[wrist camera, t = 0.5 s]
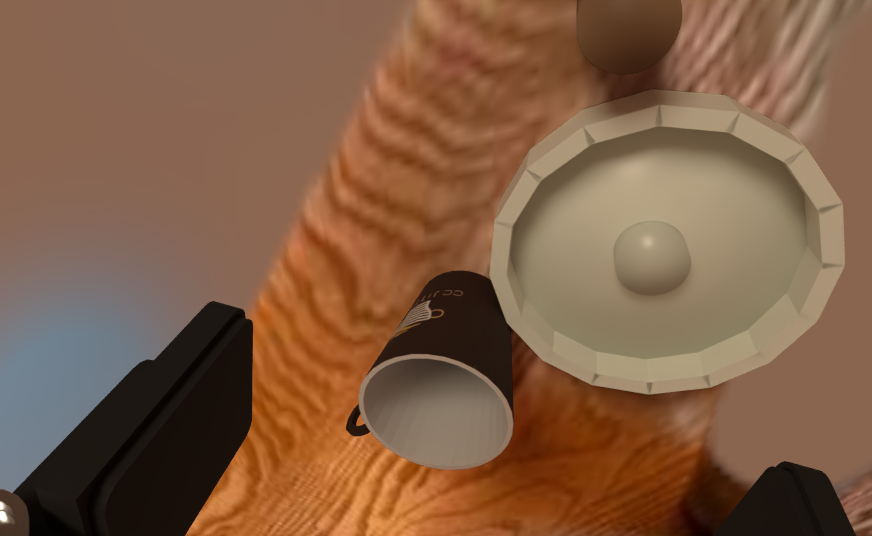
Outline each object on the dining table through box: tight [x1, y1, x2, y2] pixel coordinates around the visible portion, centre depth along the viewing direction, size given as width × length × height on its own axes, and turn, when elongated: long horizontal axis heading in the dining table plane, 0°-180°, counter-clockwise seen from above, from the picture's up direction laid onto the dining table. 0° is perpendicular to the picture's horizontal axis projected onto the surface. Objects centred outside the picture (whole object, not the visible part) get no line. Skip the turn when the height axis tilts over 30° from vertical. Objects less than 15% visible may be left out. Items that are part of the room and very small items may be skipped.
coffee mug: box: [346, 271, 514, 470], centre depth 35 cm, size 12×9×10 cm
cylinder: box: [577, 0, 682, 75], centre depth 25 cm, size 4×4×6 cm
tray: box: [489, 89, 845, 394], centre depth 32 cm, size 18×18×3 cm
